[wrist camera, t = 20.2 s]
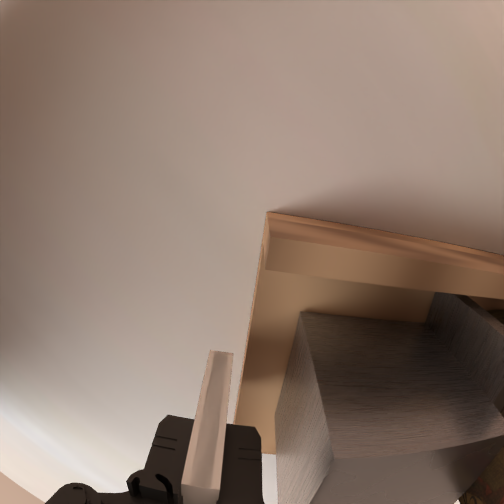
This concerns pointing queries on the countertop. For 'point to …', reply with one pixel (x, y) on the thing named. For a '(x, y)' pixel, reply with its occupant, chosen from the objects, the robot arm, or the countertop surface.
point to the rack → (344, 293)
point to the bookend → (390, 406)
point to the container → (489, 468)
